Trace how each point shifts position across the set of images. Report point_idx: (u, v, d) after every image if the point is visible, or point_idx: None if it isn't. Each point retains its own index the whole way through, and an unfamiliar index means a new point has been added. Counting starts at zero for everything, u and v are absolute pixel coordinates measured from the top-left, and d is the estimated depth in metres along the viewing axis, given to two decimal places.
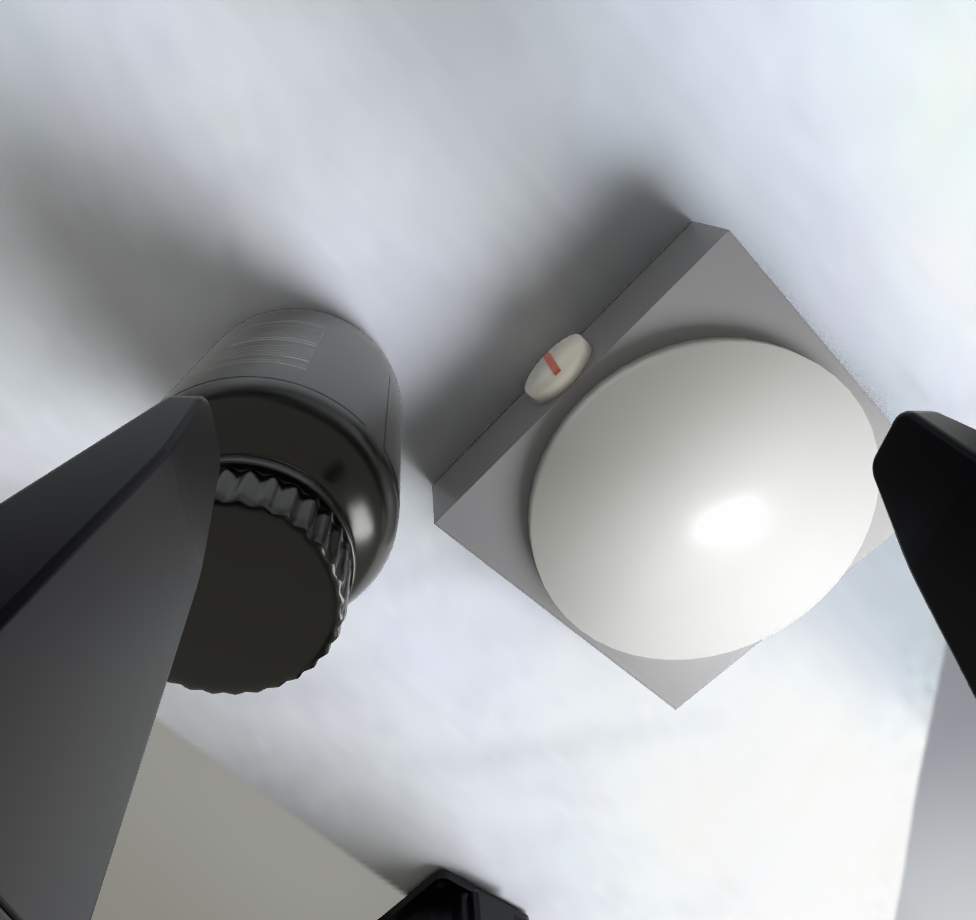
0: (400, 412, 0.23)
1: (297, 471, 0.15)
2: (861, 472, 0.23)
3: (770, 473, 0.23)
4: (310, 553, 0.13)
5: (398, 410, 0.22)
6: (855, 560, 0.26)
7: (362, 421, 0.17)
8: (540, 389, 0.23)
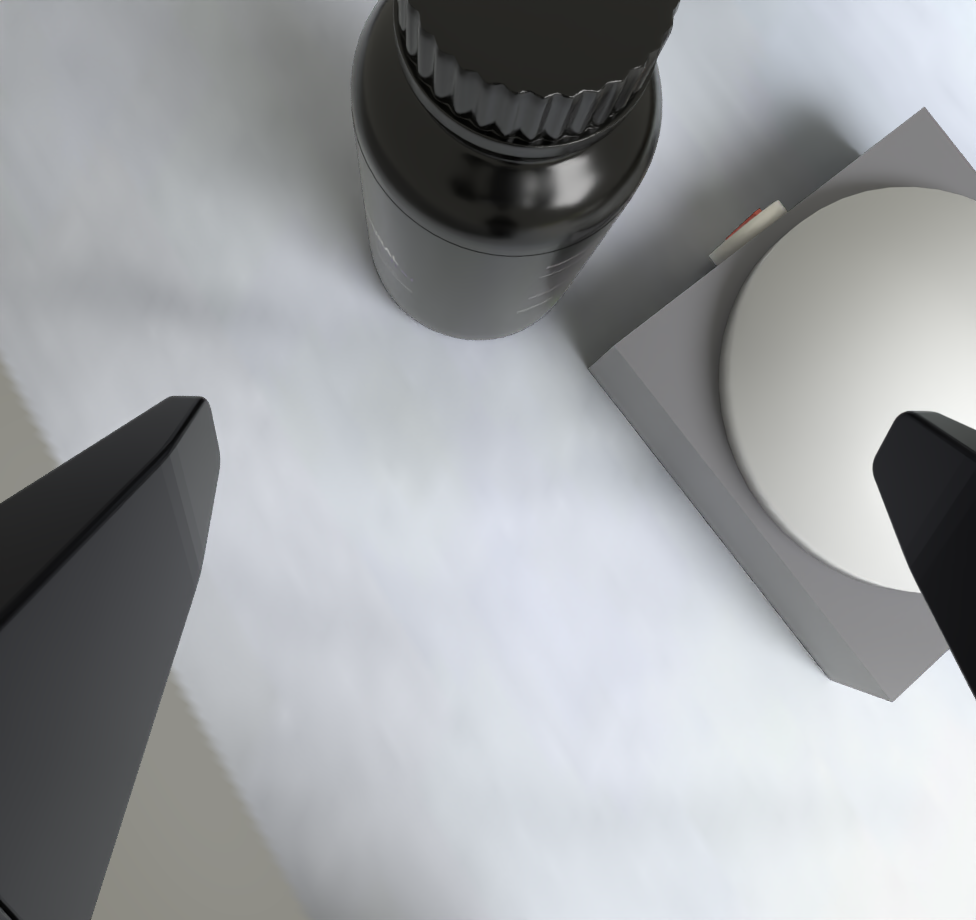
0: None
1: None
2: None
3: None
4: None
5: None
6: None
7: None
8: (738, 229, 0.22)
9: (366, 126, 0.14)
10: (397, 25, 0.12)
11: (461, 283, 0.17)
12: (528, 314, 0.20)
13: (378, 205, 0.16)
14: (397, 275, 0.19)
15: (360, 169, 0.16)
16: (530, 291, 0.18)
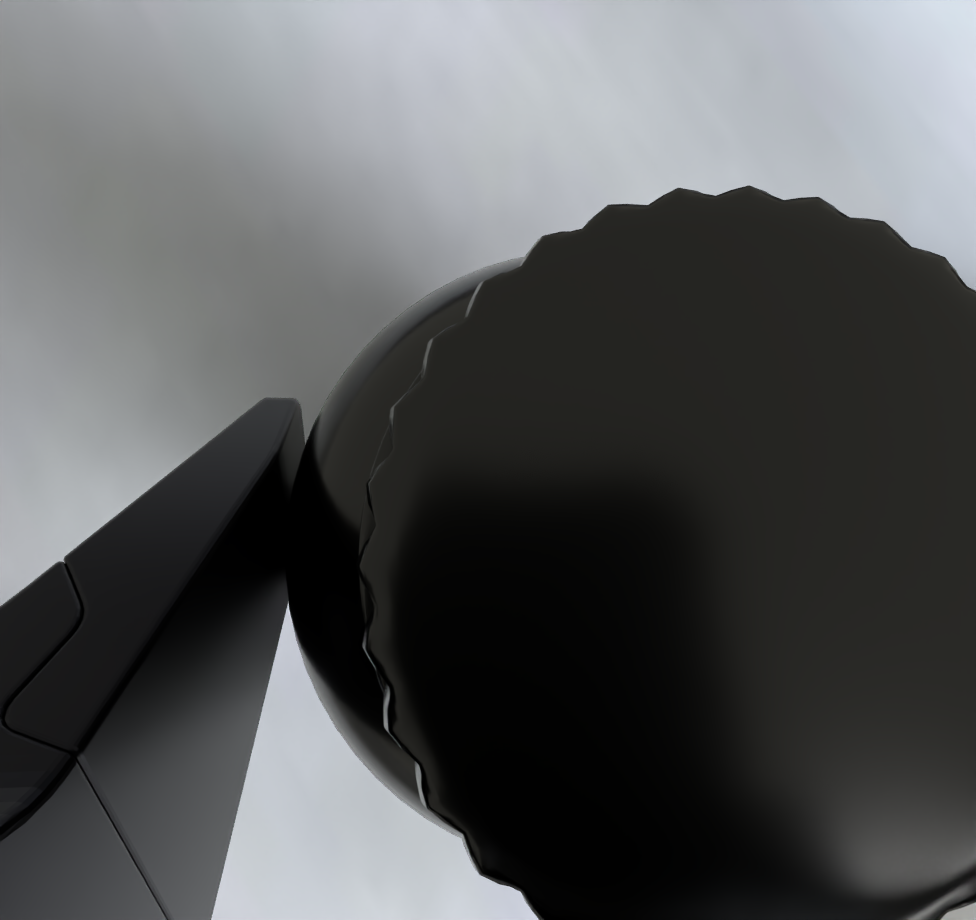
0: None
1: None
2: None
3: None
4: None
5: None
6: None
7: None
8: None
9: (311, 661, 0.07)
10: (367, 609, 0.05)
11: None
12: None
13: None
14: None
15: None
16: None
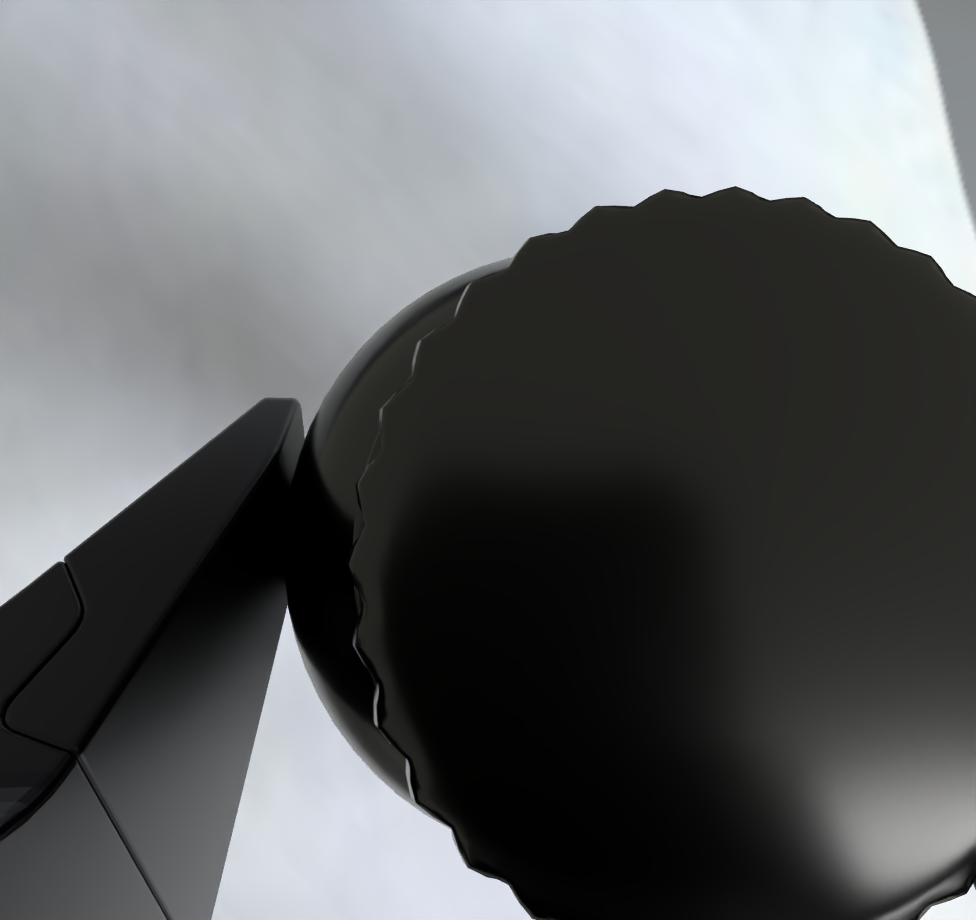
0: None
1: None
2: None
3: None
4: None
5: None
6: None
7: None
8: None
9: (309, 658, 0.07)
10: (360, 607, 0.05)
11: None
12: None
13: None
14: None
15: None
16: None
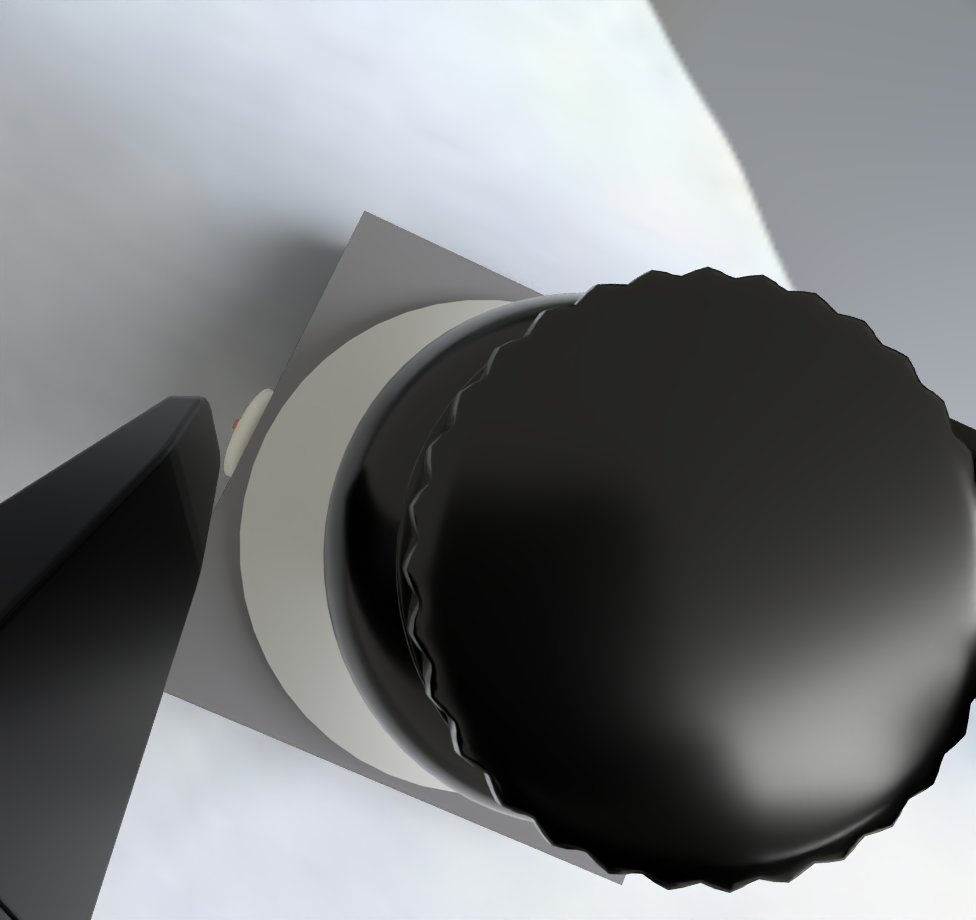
0: None
1: None
2: None
3: None
4: (945, 464, 0.06)
5: None
6: None
7: None
8: None
9: (348, 651, 0.08)
10: (404, 605, 0.06)
11: None
12: None
13: None
14: None
15: None
16: None
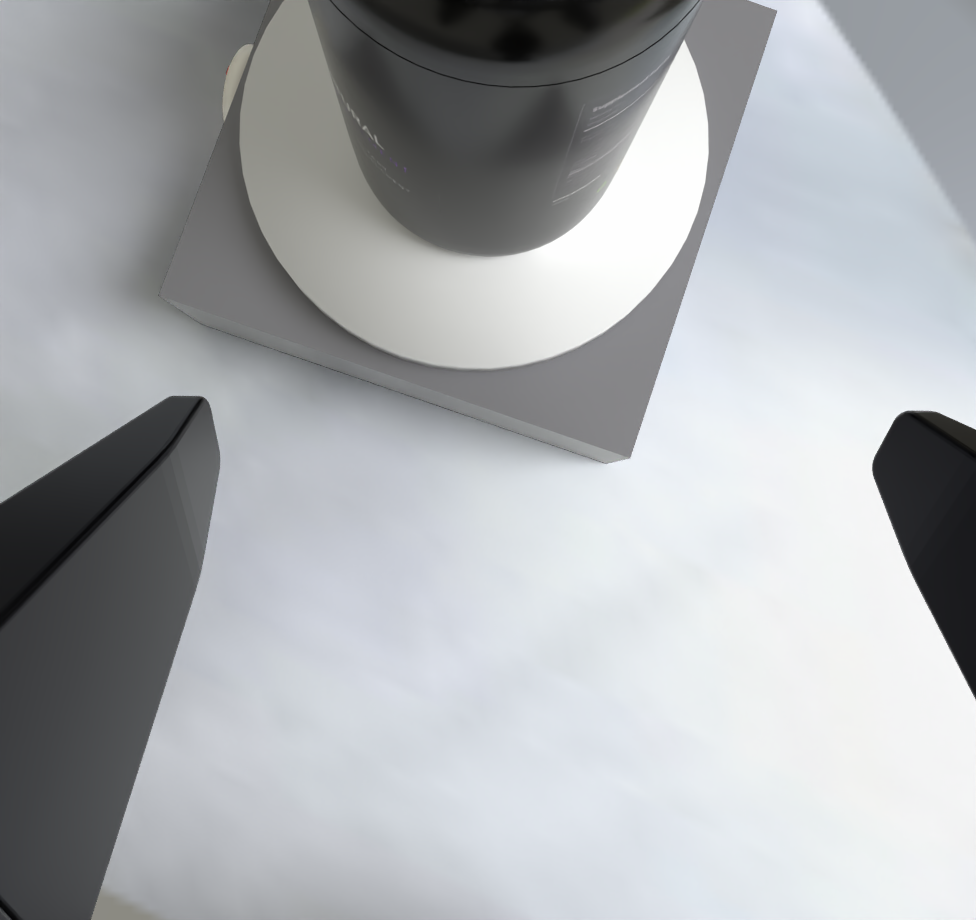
0: None
1: None
2: None
3: None
4: None
5: None
6: (728, 141, 0.19)
7: None
8: (223, 100, 0.19)
9: None
10: None
11: (470, 156, 0.12)
12: (568, 206, 0.15)
13: (338, 47, 0.11)
14: (386, 169, 0.14)
15: (308, 0, 0.11)
16: (570, 160, 0.13)
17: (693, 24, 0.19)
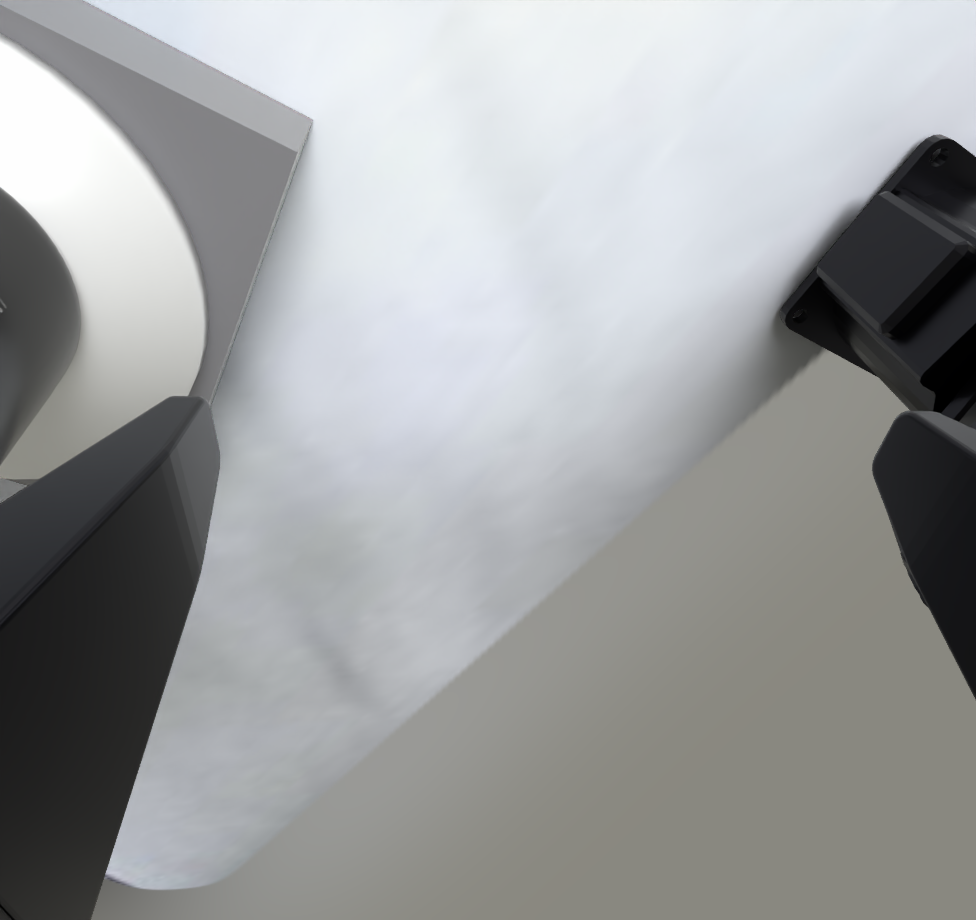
0: None
1: None
2: None
3: None
4: None
5: None
6: None
7: None
8: None
9: None
10: None
11: None
12: (1, 272, 0.14)
13: None
14: None
15: None
16: None
17: None
